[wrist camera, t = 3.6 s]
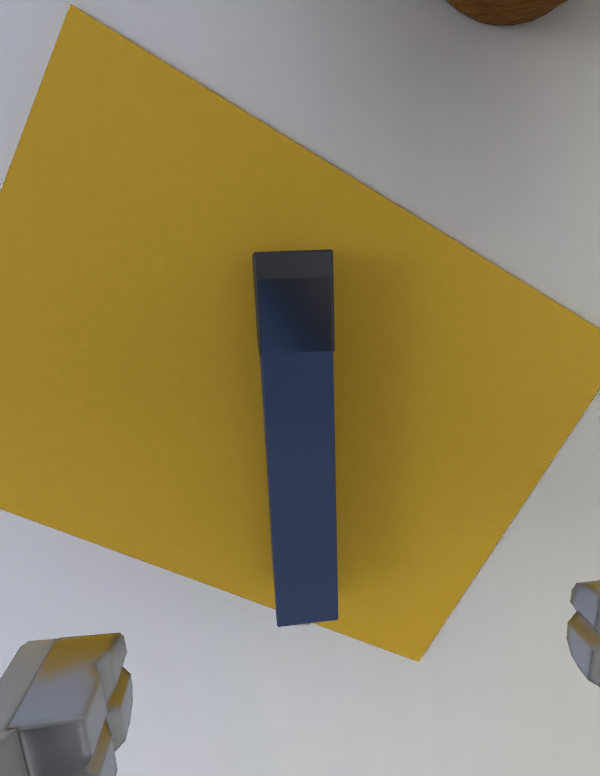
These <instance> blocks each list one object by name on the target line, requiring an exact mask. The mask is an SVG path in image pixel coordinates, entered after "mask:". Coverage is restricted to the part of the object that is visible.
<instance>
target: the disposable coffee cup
mask: <svg viewBox="0 0 600 776" xmlns="http://www.w3.org/2000/svg"><path fill="white" fill-rule="evenodd" d="M447 1H448V2H449V3H450V4H451V5H452V6H454V7H455V8H456V9H457V10H459V11H461V12H462V13H464V14H466V15H468V16H470V17H472V18H473V19H475V20H477V21H481V22H484V23H487V24H491V25H515V24H520V23H524V22H528V21H532V20H534V19H537V18H539V17H541V16H543V15H546V14H547V13H548V12H550V11H551V10H553V9H554V8H556V7H557V6H559V5H561V4H562V3H564V2H566V1H567V0H447Z"/></svg>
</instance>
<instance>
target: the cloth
mask: <svg viewBox="0 0 600 776" xmlns="http://www.w3.org/2000/svg"><path fill="white" fill-rule="evenodd" d="M326 249H331V250H333V276H334V330H335V351H334V352H333V362H334V413H335V464H336V515H337V566H338V617H339V618H338V620H333V621H325V622H316V623H314V624H317V625H320V626H322V627H325V628H328V629H331V630H333V631H336V632H339V633H342V634H344V635H347V636H350V637H353V638H355V639H358V640H361V641H363V642H366V643H369V644H372V645H374V646H377V647H380V648H383V649H385V650H388V651H391V652H394V653H396V654H399V655H402V656H404V657H407V658H410V659H413V660H415V661H418V662H419V660H420V659H421V657H422V656H423V654H424V653H425V651H426V650H427V648H428V647H429V645H430V644H431V642H432V641H433V639H434V638H435V636H436V635H437V633H438V632H439V630H440V629H441V627H442V626H443V624H444V623H445V621H446V620H447V618H448V617H449V615H450V614H451V612H452V611H453V609H454V608H455V606H456V605H457V603H458V602H459V600H460V599H461V597H462V596H463V594H464V593H465V591H466V590H467V588H468V587H469V585H470V584H471V582H472V581H473V579H474V578H475V576H476V575H477V573H478V572H479V570H480V569H481V567H482V565H483V564H484V562H485V561H486V559H487V558H488V556H489V555H490V553H491V552H492V550H493V549H494V547H495V546H496V544H497V543H498V541H499V540H500V538H501V537H502V535H503V534H504V532H505V531H506V529H507V528H508V526H509V525H510V523H511V522H512V520H513V519H514V517H515V516H516V514H517V513H518V511H519V510H520V508H521V507H522V505H523V504H524V502H525V501H526V499H527V498H528V496H529V495H530V493H531V492H532V490H533V489H534V487H535V486H536V484H537V483H538V481H539V480H540V478H541V477H542V475H543V474H544V472H545V471H546V469H547V468H548V466H549V465H550V463H551V462H552V460H553V458H554V457H555V455H556V454H557V452H558V451H559V449H560V448H561V446H562V445H563V443H564V442H565V440H566V439H567V437H568V436H569V434H570V433H571V431H572V430H573V428H574V427H575V425H576V424H577V422H578V421H579V419H580V418H581V416H582V415H583V413H584V412H585V410H586V409H587V407H588V406H589V404H590V403H591V401H592V400H593V398H594V397H595V395H596V394H597V392H598V391H599V389H600V329H599V328H597V327H596V326H594V325H592V324H591V323H589V322H587V321H586V320H584V319H583V318H581V317H579V316H578V315H576V314H574V313H573V312H571V311H570V310H568V309H566V308H565V307H563V306H561V305H560V304H558V303H557V302H555V301H553V300H552V299H550V298H548V297H547V296H545V295H544V294H542V293H540V292H539V291H537V290H535V289H534V288H532V287H530V286H529V285H527V284H526V283H524V282H522V281H521V280H519V279H517V278H516V277H514V276H513V275H511V274H509V273H508V272H506V271H504V270H503V269H501V268H500V267H498V266H496V265H495V264H493V263H491V262H490V261H488V260H486V259H485V258H483V257H482V256H480V255H478V254H477V253H475V252H473V251H472V250H470V249H469V248H467V247H465V246H464V245H462V244H460V243H459V242H457V241H456V240H454V239H452V238H451V237H449V236H447V235H446V234H444V233H443V232H441V231H439V230H438V229H436V228H434V227H433V226H431V225H429V224H428V223H426V222H425V221H423V220H421V219H420V218H418V217H416V216H415V215H413V214H412V213H410V212H408V211H407V210H405V209H403V208H402V207H400V206H399V205H397V204H395V203H394V202H392V201H390V200H389V199H387V198H385V197H384V196H382V195H381V194H379V193H377V192H376V191H374V190H372V189H371V188H369V187H368V186H366V185H364V184H363V183H361V182H359V181H358V180H356V179H355V178H353V177H351V176H350V175H348V174H346V173H345V172H343V171H342V170H340V169H338V168H337V167H335V166H333V165H332V164H330V163H328V162H327V161H325V160H324V159H322V158H320V157H319V156H317V155H315V154H314V153H312V152H311V151H309V150H307V149H306V148H304V147H302V146H301V145H299V144H298V143H296V142H294V141H293V140H291V139H289V138H288V137H286V136H285V135H283V134H281V133H280V132H278V131H276V130H275V129H273V128H271V127H270V126H268V125H267V124H265V123H263V122H262V121H260V120H258V119H257V118H255V117H254V116H252V115H250V114H249V113H247V112H245V111H244V110H242V109H241V108H239V107H237V106H236V105H234V104H232V103H231V102H229V101H227V100H226V99H224V98H223V97H221V96H219V95H218V94H216V93H214V92H213V91H211V90H210V89H208V88H206V87H205V86H203V85H201V84H200V83H198V82H197V81H195V80H193V79H192V78H190V77H188V76H187V75H185V74H184V73H182V72H180V71H179V70H177V69H175V68H174V67H172V66H170V65H169V64H167V63H166V62H164V61H162V60H161V59H159V58H157V57H156V56H154V55H153V54H151V53H149V52H148V51H146V50H144V49H143V48H141V47H140V46H138V45H136V44H135V43H133V42H131V41H130V40H128V39H127V38H125V37H123V36H122V35H120V34H118V33H117V32H115V31H113V30H112V29H110V28H109V27H107V26H105V25H104V24H102V23H100V22H99V21H97V20H96V19H94V18H92V17H91V16H89V15H87V14H86V13H84V12H83V11H81V10H79V9H78V8H76V7H74V6H73V5H71V4H70V7H69V9H68V12H67V15H66V17H65V20H64V23H63V25H62V28H61V31H60V33H59V36H58V39H57V42H56V44H55V47H54V50H53V52H52V55H51V58H50V60H49V63H48V66H47V68H46V71H45V74H44V76H43V79H42V82H41V85H40V87H39V90H38V93H37V95H36V98H35V101H34V103H33V106H32V109H31V111H30V114H29V117H28V119H27V122H26V125H25V127H24V130H23V133H22V136H21V138H20V141H19V144H18V146H17V149H16V152H15V154H14V157H13V160H12V162H11V165H10V168H9V170H8V173H7V176H6V178H5V181H4V184H3V187H2V189H1V192H0V509H2V510H5V511H8V512H11V513H13V514H16V515H19V516H22V517H24V518H27V519H30V520H32V521H35V522H38V523H41V524H43V525H46V526H49V527H52V528H54V529H57V530H60V531H63V532H65V533H68V534H71V535H74V536H76V537H79V538H82V539H84V540H87V541H90V542H93V543H95V544H98V545H101V546H104V547H106V548H109V549H112V550H115V551H117V552H120V553H123V554H125V555H128V556H131V557H134V558H136V559H139V560H142V561H145V562H147V563H150V564H153V565H156V566H158V567H161V568H164V569H167V570H169V571H172V572H175V573H177V574H180V575H183V576H186V577H188V578H191V579H194V580H197V581H199V582H202V583H205V584H208V585H210V586H213V587H216V588H218V589H221V590H224V591H227V592H229V593H232V594H235V595H238V596H240V597H243V598H246V599H249V600H251V601H254V602H257V603H260V604H262V605H265V606H268V607H270V608H273V609H276V605H275V593H274V580H273V564H272V548H271V532H270V515H269V499H268V483H267V466H266V450H265V434H264V418H263V401H262V385H261V369H260V355H259V350H258V342H257V327H256V311H255V295H254V278H253V262H252V256H253V253H254V252H269V251H297V250H326Z"/></svg>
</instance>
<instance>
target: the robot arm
mask: <svg viewBox="0 0 600 776" xmlns="http://www.w3.org/2000/svg"><path fill="white" fill-rule="evenodd" d="M570 602H571V604H572V605H573V606H574V608H575V609H576V611H577V612H576V613H575V614H574V615H573V617H572V618H571V619H570V620H569V622H568V626H567V641H568V645H569V649H570V652H571V655H572V657H573V659H574V661H575V663H576V664H577V666H578V668H579V669H580V670H581V672H582V673H583V674H584V675H585V677H586V678H587V679H588V680H589V681H591V682H592V683H594V684H596V685H598V686H599V687H600V580H598V581H589V582H581V583H576V585H575V586H574V588H573V589H572V593H571V600H570ZM126 653H127V650H126V645H125V640H124V636H123V635H122V634H120V633H111V634H99V635H87V636H75V637H64V638H59V639H47V640H35V641H28V642H27V643H25V644H24V645H23V646H21V647H20V648H19V650H18V651H17V653H16V655H15V656H14V658H13V659H12V661H11V663H10V664H9V666H8V667H7V669H6V670H5V672H4V674H3V675H2V677H1V678H0V776H116V773H117V764H116V758H115V751H116V750H117V749H118V748H119V747H120V746H121V745H122V744H123V742H124V741H125V740H126V736H127V732H128V728H129V724H130V719H131V710H132V702H133V696H132V681H131V674H130V673H129V672H128V671H127V670H126V669H125V668H123V667H122V666H123V663H124V660H125V657H126Z"/></svg>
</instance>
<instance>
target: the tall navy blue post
mask: <svg viewBox="0 0 600 776" xmlns="http://www.w3.org/2000/svg"><path fill="white" fill-rule="evenodd" d="M252 262H253V278H254V295H255V311H256V327H257V342H258V350H259V355H260V369H261V385H262V401H263V418H264V434H265V450H266V466H267V483H268V499H269V515H270V532H271V548H272V564H273V580H274V593H275V605H276V617H277V626H278V627H281V626H290V625H299V624H300V625H308V624H311V623H316V622H325V621H333V620H338V618H339V617H338V566H337V515H336V464H335V413H334V362H333V352H334V351H335V330H334V276H333V250H331V249H326V250H297V251H269V252H254V253H253V256H252Z"/></svg>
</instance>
